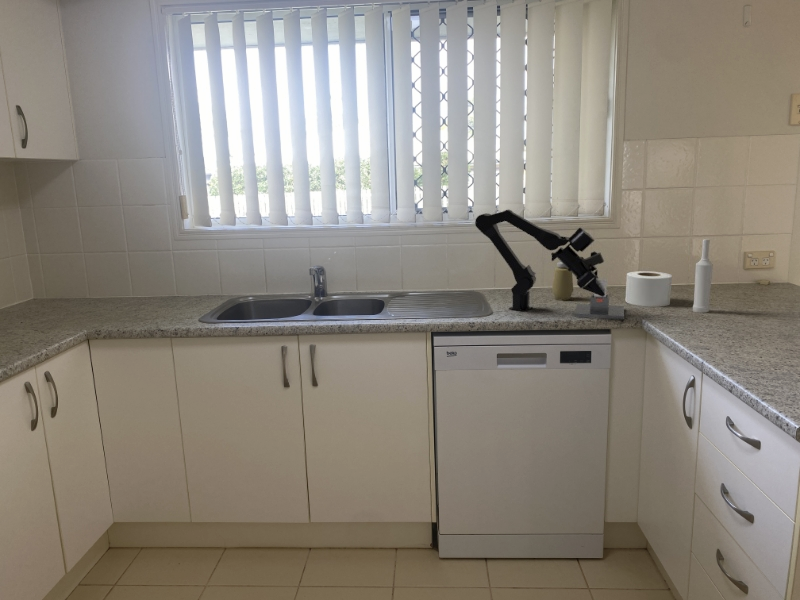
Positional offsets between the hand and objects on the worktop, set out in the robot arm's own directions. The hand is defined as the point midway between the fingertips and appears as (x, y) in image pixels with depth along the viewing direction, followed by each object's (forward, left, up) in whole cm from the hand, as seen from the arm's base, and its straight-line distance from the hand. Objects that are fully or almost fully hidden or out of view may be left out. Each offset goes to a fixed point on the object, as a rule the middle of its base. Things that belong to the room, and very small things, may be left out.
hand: (604, 293), depth 201 cm
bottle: (+22, -25, -7) cm, 34 cm away
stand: (-1, +1, -7) cm, 7 cm away
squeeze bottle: (+13, +23, -7) cm, 28 cm away
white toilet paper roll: (+26, -5, -7) cm, 28 cm away
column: (-1, +1, -6) cm, 6 cm away
